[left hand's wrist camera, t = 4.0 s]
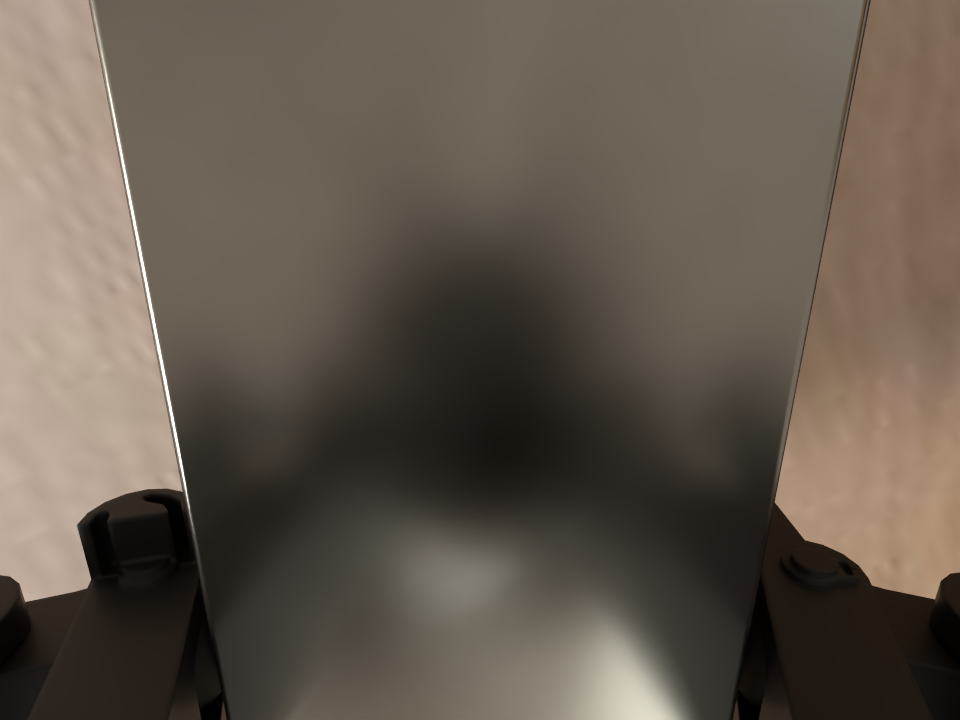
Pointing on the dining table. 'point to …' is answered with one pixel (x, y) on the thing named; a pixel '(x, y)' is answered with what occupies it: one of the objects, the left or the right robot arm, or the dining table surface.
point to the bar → (479, 334)
